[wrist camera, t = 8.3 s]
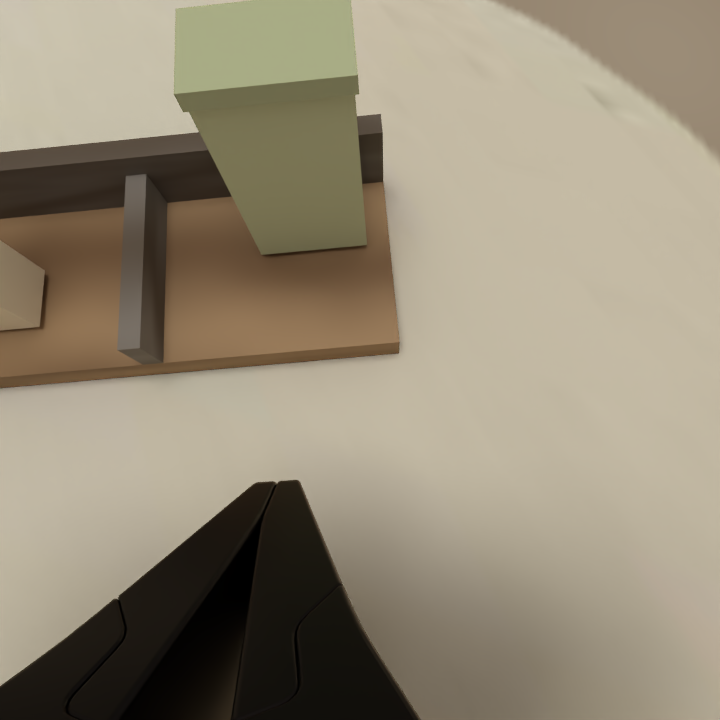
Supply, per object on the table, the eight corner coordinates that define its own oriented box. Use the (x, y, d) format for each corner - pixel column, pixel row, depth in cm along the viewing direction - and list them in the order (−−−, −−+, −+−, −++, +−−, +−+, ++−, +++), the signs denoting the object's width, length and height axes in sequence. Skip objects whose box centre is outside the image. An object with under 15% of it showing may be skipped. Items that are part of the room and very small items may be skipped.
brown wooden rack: (398, 353, 21) (402, 303, 16) (-56, 393, 22) (-197, 357, 17) (380, 174, 24) (378, 79, 18) (-31, 214, 24) (-149, 133, 19)
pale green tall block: (369, 246, 21) (357, 75, 12) (259, 257, 21) (173, 93, 12) (364, 189, 21) (349, -10, 13) (257, 199, 21) (176, 8, 13)
